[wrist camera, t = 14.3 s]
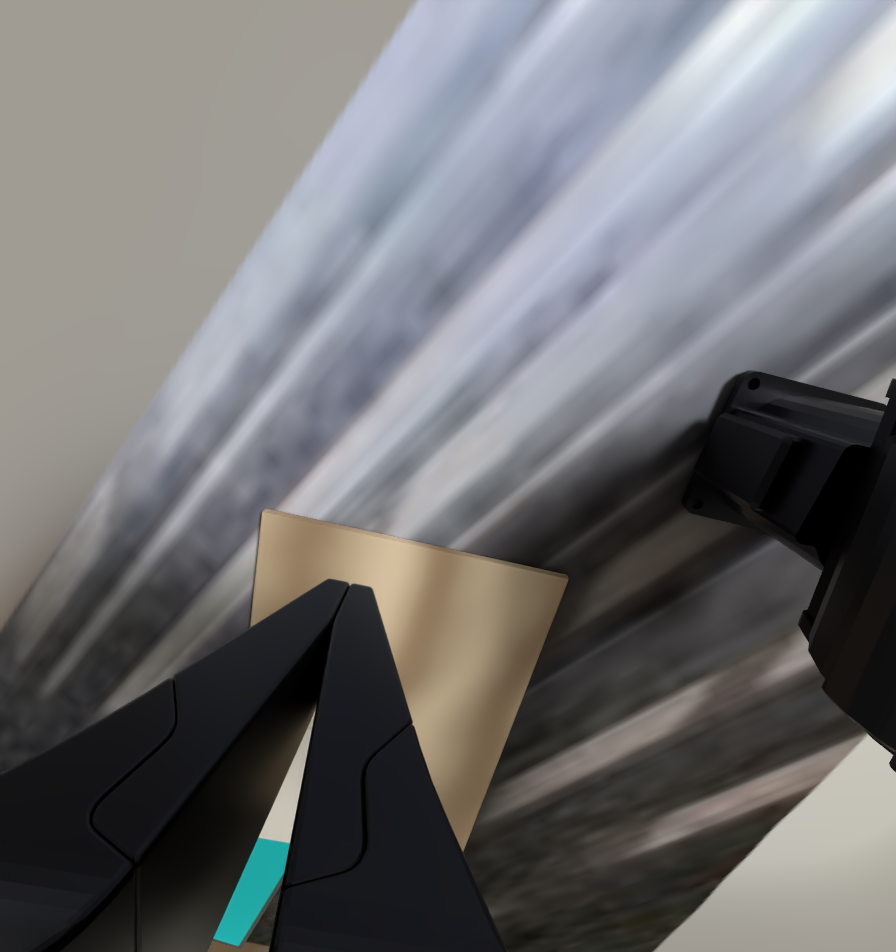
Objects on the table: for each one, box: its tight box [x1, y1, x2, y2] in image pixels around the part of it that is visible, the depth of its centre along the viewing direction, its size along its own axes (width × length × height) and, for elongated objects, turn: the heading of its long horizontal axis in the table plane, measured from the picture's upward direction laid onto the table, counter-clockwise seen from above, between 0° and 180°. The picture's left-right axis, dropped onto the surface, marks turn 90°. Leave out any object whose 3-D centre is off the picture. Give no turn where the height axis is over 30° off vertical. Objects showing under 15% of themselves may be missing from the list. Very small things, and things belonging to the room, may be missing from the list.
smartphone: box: [213, 838, 290, 948], centre depth 30 cm, size 7×1×15 cm
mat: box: [250, 509, 569, 851], centre depth 25 cm, size 15×22×1 cm
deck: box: [259, 709, 316, 843], centre depth 24 cm, size 2×9×6 cm
